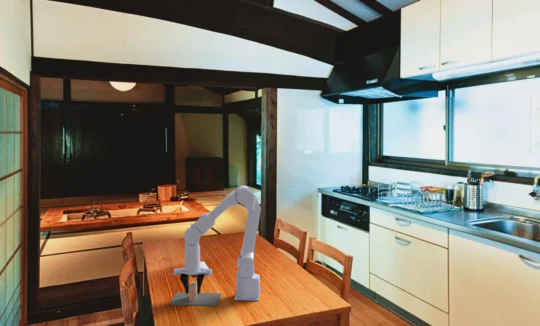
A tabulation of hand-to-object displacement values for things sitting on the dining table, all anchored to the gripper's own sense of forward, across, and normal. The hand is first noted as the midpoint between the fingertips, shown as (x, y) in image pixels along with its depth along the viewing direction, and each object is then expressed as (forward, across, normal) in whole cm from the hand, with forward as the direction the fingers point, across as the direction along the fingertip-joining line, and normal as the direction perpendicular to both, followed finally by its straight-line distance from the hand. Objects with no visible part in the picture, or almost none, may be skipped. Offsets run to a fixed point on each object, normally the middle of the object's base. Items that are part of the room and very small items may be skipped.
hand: (193, 292), depth 140 cm
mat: (+3, -1, 0) cm, 3 cm away
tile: (+2, 0, 0) cm, 2 cm away
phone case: (+3, +5, -32) cm, 32 cm away
